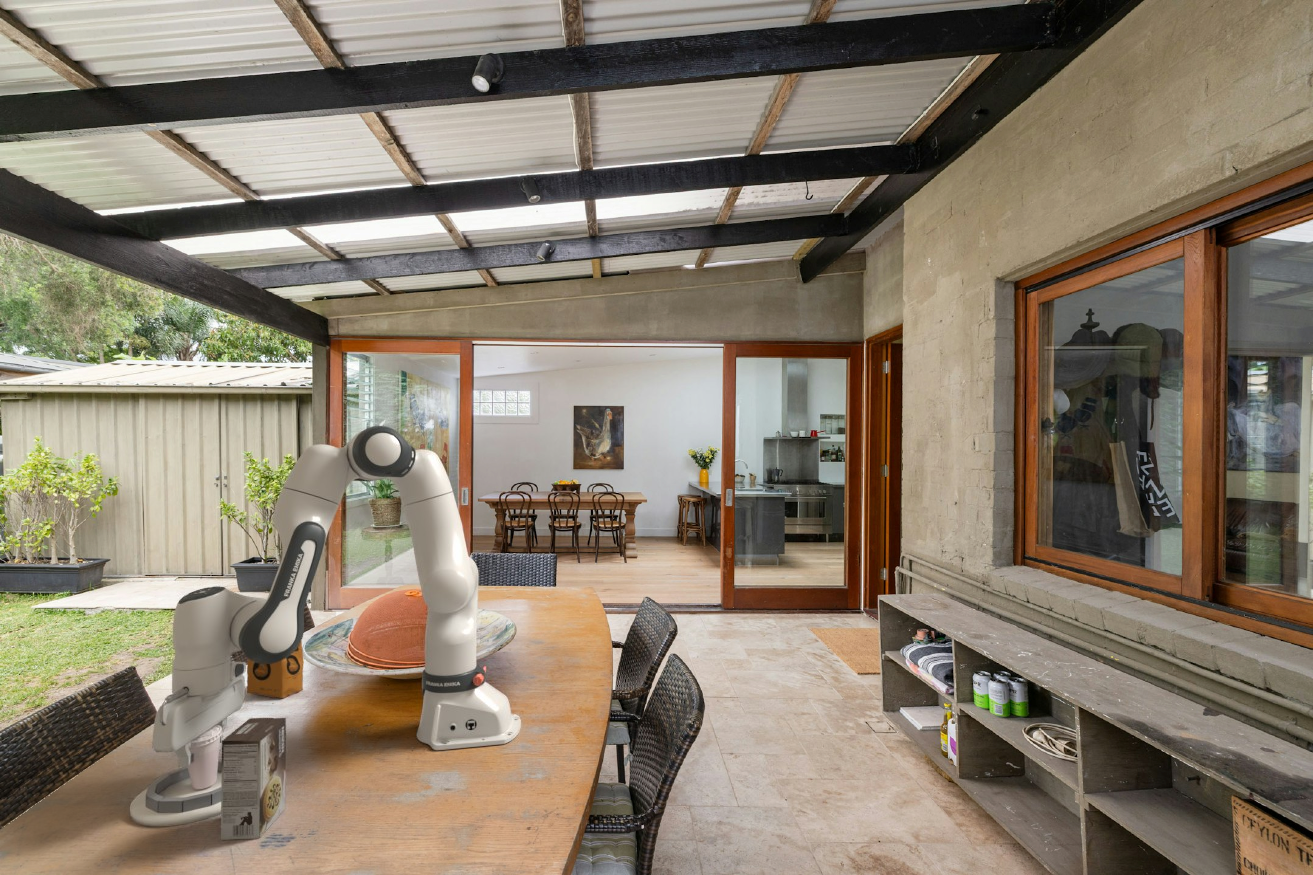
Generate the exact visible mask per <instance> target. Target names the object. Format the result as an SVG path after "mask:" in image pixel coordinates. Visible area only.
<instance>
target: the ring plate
mask: <svg viewBox="0 0 1313 875" xmlns="http://www.w3.org/2000/svg"><path fill="white" fill-rule="evenodd" d="M221 781H222V758H218V770H217V781H216V782H215V783H214V784H213V785H211V786H209V787H207V788H204V789H194V788H193V787H192V783H191V778H190V774H189V770H188V766H187V767H179V768H176V769H174V770H171V771H169V772H166V773H165V774H163V775H161V776H159V778H157V779H155V780H154V781H152V782H151V783H149V784H148V786H147V788H145V789H144V790H143V791H141V792H140V793H139V794H138V795H136V796H135V797H134V799H133V800H132V801H131V803H130V806H129V817H130V819H131V820H132V821H133V822H134V823H136V824H137V825H143V826H146V827H161V828H162V827H173V826H180V825H186V824H187V825H188V824H192V823H196V822H200V821H203V820H208V819H210V818H213V817H217V816H218V815H221Z"/></svg>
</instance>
